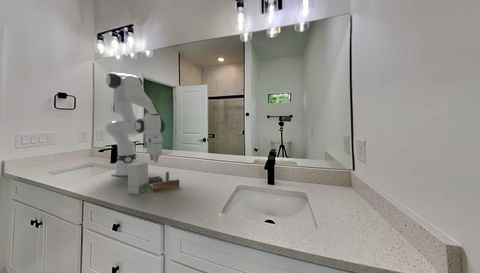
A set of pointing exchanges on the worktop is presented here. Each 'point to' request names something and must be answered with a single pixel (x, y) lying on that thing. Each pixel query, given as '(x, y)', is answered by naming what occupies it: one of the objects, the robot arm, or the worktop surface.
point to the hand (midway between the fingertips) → (154, 161)
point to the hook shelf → (164, 184)
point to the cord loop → (154, 180)
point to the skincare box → (137, 177)
